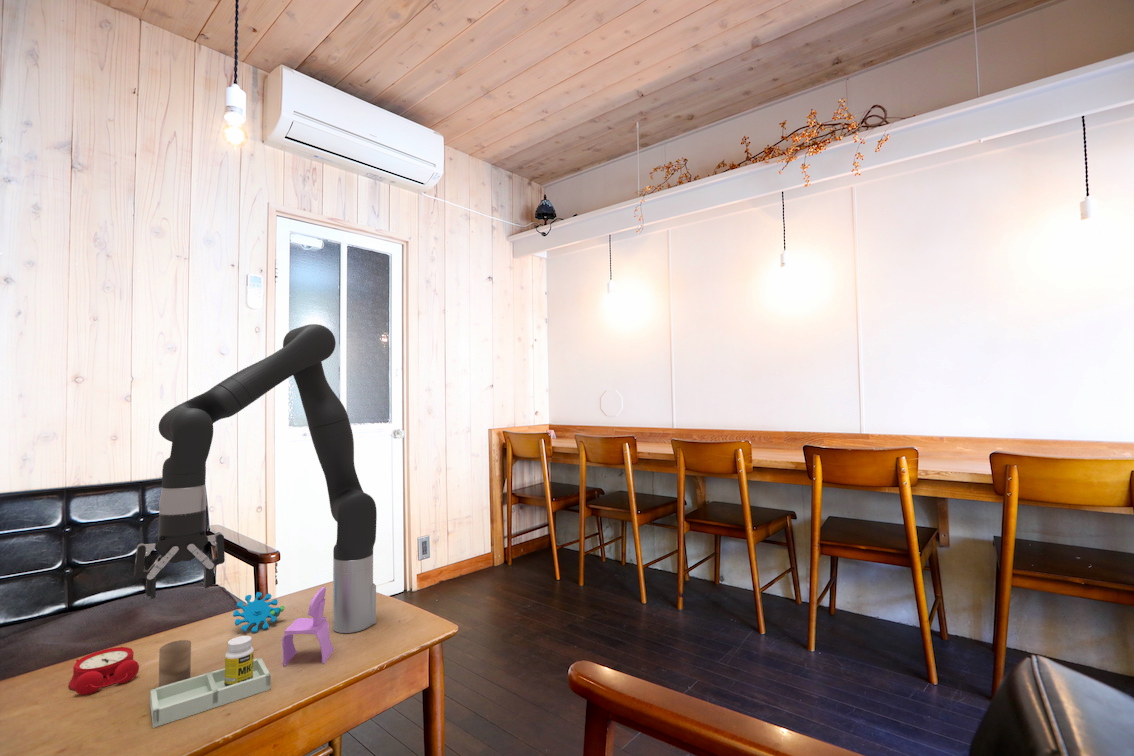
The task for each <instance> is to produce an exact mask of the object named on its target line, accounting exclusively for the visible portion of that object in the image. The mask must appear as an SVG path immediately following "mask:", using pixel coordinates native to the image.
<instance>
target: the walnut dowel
mask: <svg viewBox="0 0 1134 756" xmlns="http://www.w3.org/2000/svg"><path fill="white" fill-rule="evenodd" d="M158 651H159V652H158V653H159V655H158V656H159V657H158V658H159V659H158V660H159V661H158V662H159V663H158V670H159V671H158V687H161V686H165V685H168V684H171V683H175V682H178V681H182V680H185V679H189V678H192V677H191V672H192V671H191V665H192V641H191V640H190V639H189V640H188V639H181V640H174V641H171V642H168V643H166V644H164V645H162V646H161V647H160V648H159V649H158Z"/></svg>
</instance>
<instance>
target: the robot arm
mask: <svg viewBox="0 0 1134 756" xmlns="http://www.w3.org/2000/svg"><path fill="white" fill-rule="evenodd" d="M282 341H283V342H282V347H281V348H280V349H279V350H277V351H275V352H274V353H273V354H270V355H268V356H266V357H265V358H263V359H261V360H259V361H257V362H255V363H253V364H251V365H249V366H247V367H244V368H243V369H241V370H239V371H237V372H235V373H234V374H232V375H230V376H229V377H226V378H225V379H224V380H222V381H221V382H219V383H217V384H216V385H214V386H213V387H211V388H210V389H209V390H207V391H205V392H203V393H201V394H199V395H196V396H194V397H192V398H190V399H188V400H186V401H183V402H182V403H180V404H178V405H175V406H174V407H173V408H171V409H170V410H168V411H167V412H166V413H165V414H164V415H162V417H161V418H160V420H159V423H158V431H159V434H160V435H161V436H162V438H164V439H165V440H167V441H169V442H171V443H172V444H171V449H170V454H169V457H168V458H166V459H165V460H164V462H163V464H162V475H161V492H160V496H159V507H158V531H157V536H158V537H157V540H156V541H155V543H143V542H141V543H138V544H137V546H136V550H135V560H134V568H133V574H134V577H135V579H145V595H146V596H147V597H148V598H150V600H155V599H156V597H157V593H156V591H157V578H156V576H157V575H158V573H159V572H160V571H162V569H164V567H165V566H166V565H167V564H168V563H171V564H177V563H180V562H191V561H192V560H193V559H194V560H195V558H196V559H197V560H198V561H199V562H201V563H202V564H203V565H204V567H203V584H202V585H203V588H204V589H208V588H210V585H212V584H213V583H214V570H215V568H216V567H217V566H219V565H222V564H224V563H225V560H226V559H225V558H226V557H225V537H224V535H223V534H222V533H221V532H216V533H215V534H211V535H207V533H206V518H207V504H208V502H207V489H206V479H207V477H206V474H207V465H206V464H207V463H206V462H207V461H208V457H209V455H210V450H211V447H212V442H213V438H214V423H216V422H218V421H220V420H222V419H226V418H230V417H232V416H235V415H236V414H238V413H240V412H241V411H242V410H244V409H245V408H246V407H248V406H249V405H251V404H253V403H255V401H256V400H258V399H260V397H262V396H264V395H265V394H267V393H268V392H269V391H271V390H272V389H274V388H275V387H276V386H278V385H280V384H281V383H282V382H284V381H286V380H288V379H289V378H290V377H292V376H293V378H294V381H295V384H296V387H297V389H298V392H299V397H300V401H301V404H302V408H303V411H304V415H305V418H306V421H307V422H306V423H307V426H308V430H309V434H310V437H311V441H312V444H313V447H314V450H315V453H316V456H317V459H318V461H319V464H320V466H321V469H322V472H323V474H324V475H323V476H324V478H325V483H326V487H327V494H328V501H329V507H330V513H331V516H332V518H333V519H334V521H336V524H337V526H336V543H335V545H334V546H333V555H332V556H333V558H332V559H333V560H332V561H333V566H332V567H333V568H332V569H333V570H332V571H333V574H332V577H333V578H332V579H333V581H332V584H333V585H332V586H333V587H332V592H333V593H332V630H333V631H334V632H337V633H340V634H350V633H351V634H352V633H357V632H360V631H363V630H367V628H369V627H371V626H372V625H375V624H377V585H376V583H374V546H375V543H376V538H377V517H378V516H377V515H378V514H377V506H376V505H377V504H376V501H375V499H374V498H373V497H372V496H371V495H370V494H368V493H366V492H364V490H363V488H362V485H361V483H360V479H359V477H358V474H357V471H356V467H355V444H354V443H355V441H354V434H353V430H352V425H351V422H350V419H349V416H348V412H347V409H346V408H345V406H344V404H343V402H342V401H341V400H340V399H339V397H338V396H337V395H336V393H335V392H334V390H333V389H332V388H331V386H330V384H329V383H328V380H327V377H326V375H325V370H324V367H323V362H324V361H325V360H328V358H330V357H331V356H332V354H333V353H334V351H335V348H336V337H335V335H334V333H333V332H332V331H331V330H330V329H329V328H328V327H326V326H324V325H323V324H317V323H316V324H315V323H314V324H313V323H311V324H305V325H303V326H300V327H296V328H294V329H291V330H290V331H288V332H287V333H286V335H285V336H284V338H283V340H282ZM208 542H210V544H211V545H212V546H214V547H215V549H214V551H215V557H214V558H211V559H210V557H208V556H207V555H206V554H205V553H204V552H203V551H202V550H203V549H204V548H205V547H206V545H207V544H208ZM154 550H155V552H156V553H158V555H159V556H158V557H157V559H155V561H154V563H152V565H151V566H150V567H149V569H145V559H146V557H149V555H151V552H152V551H154Z"/></svg>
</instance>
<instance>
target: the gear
mask: <svg viewBox="0 0 1134 756" xmlns="http://www.w3.org/2000/svg"><path fill="white" fill-rule="evenodd" d="M262 594H263V593H262V592H259V591H256V594H255V598H254V600H253V601H251V599H252V594H248V595H247V594H246V595H245V597H244V600H245V601H246V603H247V605H246V606H244V605H243V604H244V602H243V601H242V600H240V601H238V602H237V603H236V607H237V608H239V609H241V610H242V612H240V611H239V610H238V609H235V610H234V611H233V614H232V617H234V618H235V617H236V619H235V620H234V626H237V627H238V626H239V625H241V624H243V623H248V624H244V625H242V626H241V628H240V630H241V631H242V632H244V633H245V632H247V631H248V629H249V627H251V626H252V625H254V626H253V627H252V628H251V630H250V631H251V633H253V634H254V633H255V634H257V633H258V630H259V625H260V624H261V623H263V625H262V627H261V628H262V630H267V629H269V623H268V622H267V619H270V621H269V622H270V623H271V624H274V623H275V622H276V621H277V619H278V617H279V616H280V615H281V613H283V612H284V610H285V609H286V608H285V605H280V607H272V606H277V605H278V602H279V601H278V599H277V598H275V599H273V600H271V599H272V595H271V593H269V592H268V593H266V595H265V596H264V597H263V598H262ZM260 598H262V599H260ZM266 600H267V601H266ZM268 600H271V601H268ZM270 605H272V606H270ZM237 617H241V618H243V619H240V618H237Z"/></svg>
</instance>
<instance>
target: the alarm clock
mask: <svg viewBox="0 0 1134 756" xmlns="http://www.w3.org/2000/svg"><path fill="white" fill-rule="evenodd" d="M72 667H73V668H72V669H73V673H72V677H71V679H70V681H69V682H68V688H69V689H70V690H72V691H75V692H76V693H77V694H78V695H80V696H87V695H91V694H95V693H96V692H98V691H99V690H100V689H101V688H104V687H108V686H111V685H114V684H119V685H121V684H126V683H129V682H130V680H131V681H132V680H134V678H135V677H136V676H137V675H138V673H139V670H140V665H139V663H138V661H136V660H134V650H133V649H132V648H130V647H126V646H121V647H113V648H107V649H103V650H98V651H96V652H93V653H90V654H87V655H85V656H83V657H81V658H80V659H79V658H77V659H76V662H75V663H74V665H73V666H72ZM128 681H129V682H128Z"/></svg>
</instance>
